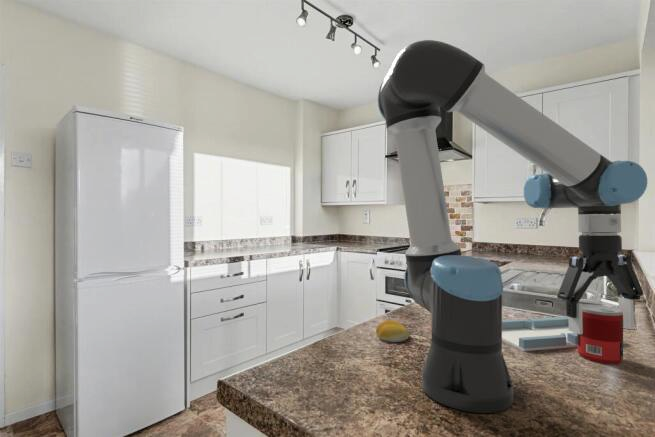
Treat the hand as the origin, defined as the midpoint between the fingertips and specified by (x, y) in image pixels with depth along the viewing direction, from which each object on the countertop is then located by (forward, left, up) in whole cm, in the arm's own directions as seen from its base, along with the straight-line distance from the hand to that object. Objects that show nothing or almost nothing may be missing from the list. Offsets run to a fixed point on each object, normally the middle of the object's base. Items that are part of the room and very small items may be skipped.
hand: (601, 330), depth 77 cm
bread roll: (-40, +22, -7) cm, 47 cm away
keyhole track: (0, +14, -6) cm, 15 cm away
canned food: (0, 0, -6) cm, 6 cm away
